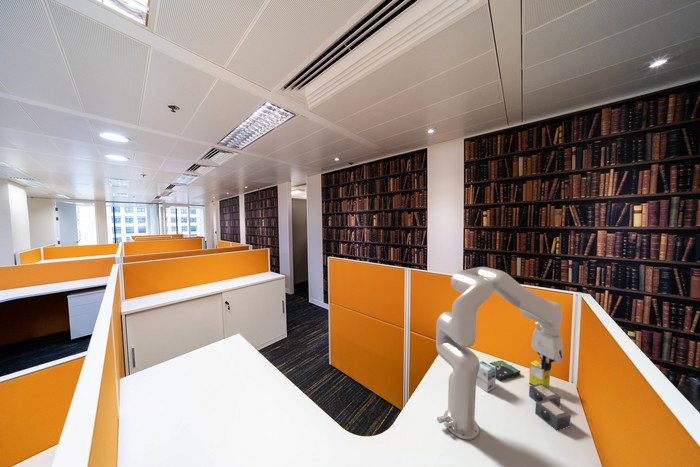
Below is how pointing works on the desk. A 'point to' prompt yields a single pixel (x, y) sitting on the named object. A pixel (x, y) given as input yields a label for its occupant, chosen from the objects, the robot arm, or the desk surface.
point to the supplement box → (538, 374)
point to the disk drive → (504, 370)
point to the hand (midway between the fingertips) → (545, 369)
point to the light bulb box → (486, 376)
